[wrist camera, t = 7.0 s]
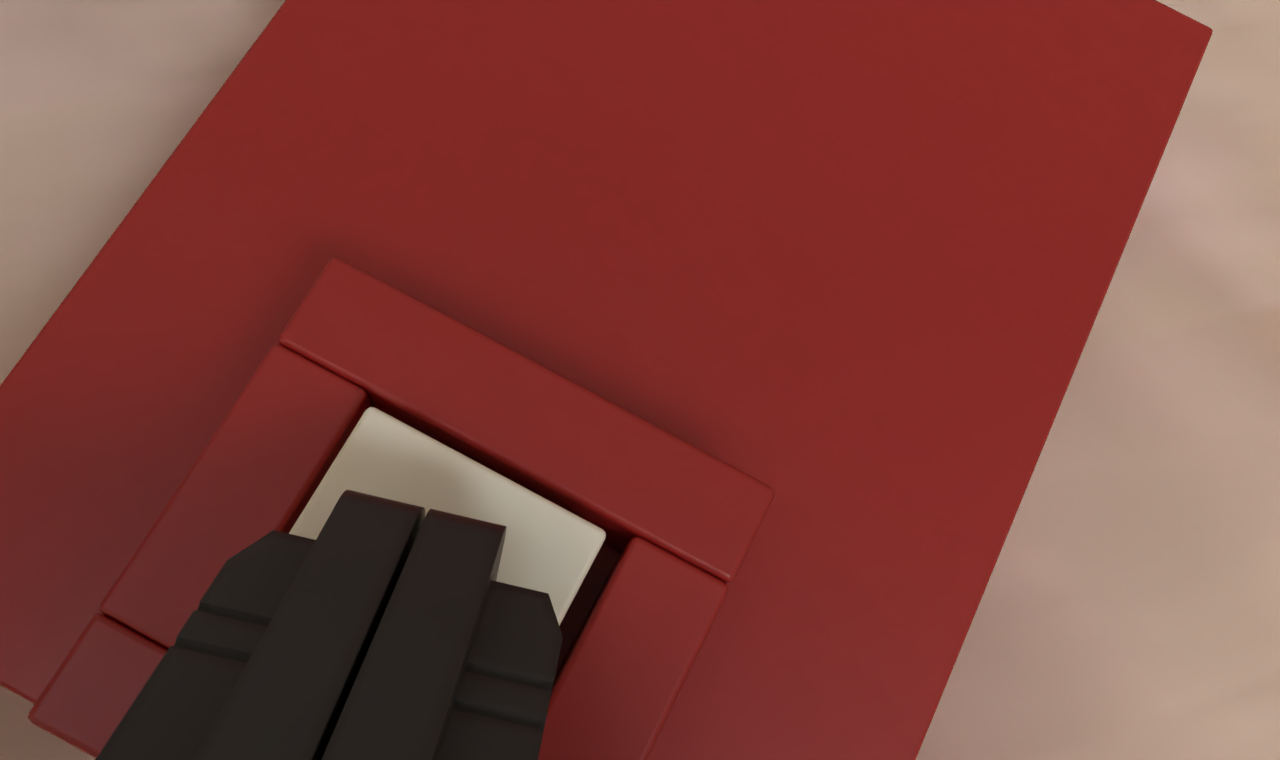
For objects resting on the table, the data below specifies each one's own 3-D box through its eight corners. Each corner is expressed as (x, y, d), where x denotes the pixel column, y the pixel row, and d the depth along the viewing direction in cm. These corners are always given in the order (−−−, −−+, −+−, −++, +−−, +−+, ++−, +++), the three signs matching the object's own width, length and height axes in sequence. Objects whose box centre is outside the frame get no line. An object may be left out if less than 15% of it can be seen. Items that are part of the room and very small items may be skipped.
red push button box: (-32, 619, 16) (-265, 581, 11) (520, -170, 21) (523, -434, 16) (721, 1032, 15) (815, 1178, 11) (1109, 130, 20) (1294, -48, 15)
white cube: (269, 660, 13) (213, 651, 11) (393, 454, 14) (367, 402, 12) (479, 775, 13) (472, 792, 11) (592, 561, 14) (609, 531, 11)
